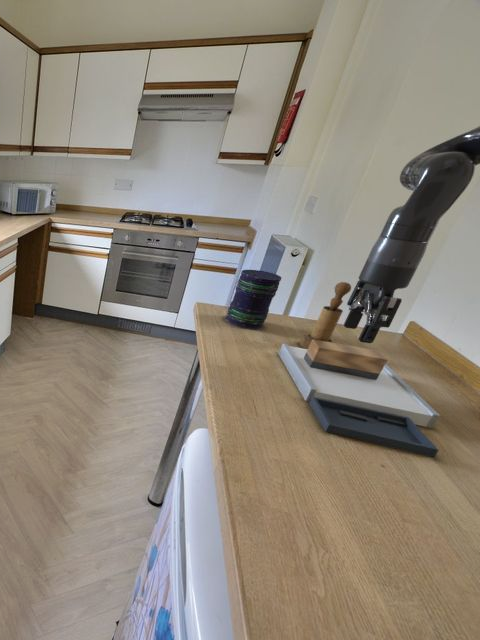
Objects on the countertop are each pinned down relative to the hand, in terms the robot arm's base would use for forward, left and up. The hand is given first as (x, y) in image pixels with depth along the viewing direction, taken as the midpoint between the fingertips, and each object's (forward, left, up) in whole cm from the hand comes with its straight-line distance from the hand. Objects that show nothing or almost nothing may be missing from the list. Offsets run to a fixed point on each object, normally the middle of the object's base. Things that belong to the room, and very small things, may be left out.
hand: (356, 334), depth 89 cm
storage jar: (+14, -29, -11) cm, 34 cm away
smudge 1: (+3, +18, -11) cm, 21 cm away
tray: (+1, +21, -11) cm, 24 cm away
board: (-1, +3, -11) cm, 11 cm away
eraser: (0, 0, -9) cm, 9 cm away
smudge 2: (-4, +17, -10) cm, 20 cm away
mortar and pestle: (-1, -18, -11) cm, 21 cm away
